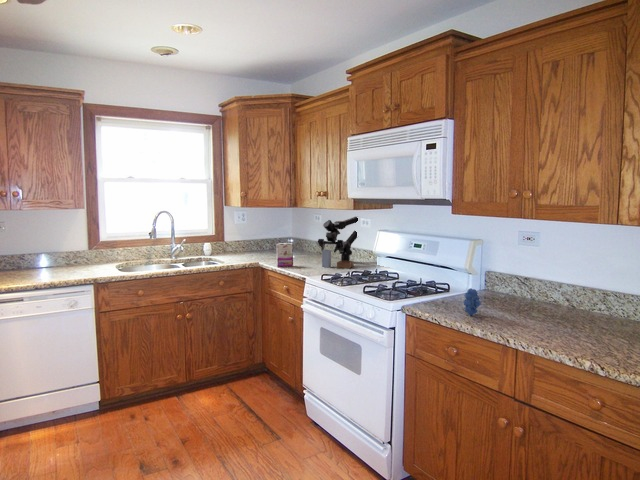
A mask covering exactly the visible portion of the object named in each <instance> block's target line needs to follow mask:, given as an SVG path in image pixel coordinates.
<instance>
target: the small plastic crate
mask: <svg viewBox="0 0 640 480" xmlns="http://www.w3.org/2000/svg"><path fill="white" fill-rule="evenodd" d="M322 267H324V269H329V267H330V268H332V249H324V250H321V268H322Z"/></svg>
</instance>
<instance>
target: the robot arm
mask: <svg viewBox="0 0 640 480" xmlns="http://www.w3.org/2000/svg"><path fill="white" fill-rule="evenodd" d="M357 217H358V216H354V217H351V218H347V219H344V220H338V221H337V220H336V221H334V222H332V220H331V219H328V220H326V221H325V222H324V223H323V225H322V227H323V228H324V229H325V230H326V231H327V232H325V237H326V240H325V239H324V238H318V239H317V244H318V245H319V247H320V248H321V251H322V250H325V248H326V245H333V246H335V247H334V250H333V253H334V254H336V253H337V251H338V252H339V254H340V255H341V257H340V258H341V260H340V261H351V259H350V256H351V255H352V254H353V251H352V250H351V248H352V244H353V243H354V242H355V241H356V240H357V238H358V237H357V232H356V231H355V230H354V231H352V233H351V234H350V235H349V236H348V237H347V239H346V241H344V240H343V239H337V238H338V235H340V234H341V232H340V230H343V229H345V228H346V227H348V226H351V225H353V224H355V223H356V222H357V221H358V218H357Z"/></svg>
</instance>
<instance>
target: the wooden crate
mask: <svg viewBox="0 0 640 480" xmlns="http://www.w3.org/2000/svg"><path fill="white" fill-rule="evenodd" d="M354 263H355V262H354V261H353V260H350V261H341V260H340V261H337V262H336V269H346V270H350V269H353V268H354Z"/></svg>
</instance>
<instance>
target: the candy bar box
mask: <svg viewBox="0 0 640 480" xmlns="http://www.w3.org/2000/svg"><path fill="white" fill-rule="evenodd" d="M276 267H277V268H287V267H288V268H289V267H294V244H293V243H292V242H286V243H285V242H283V243H276Z"/></svg>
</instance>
